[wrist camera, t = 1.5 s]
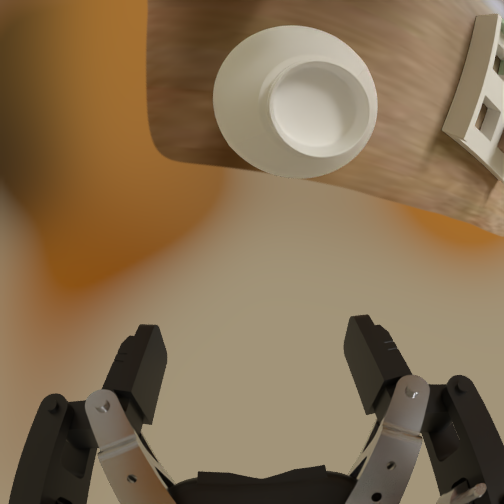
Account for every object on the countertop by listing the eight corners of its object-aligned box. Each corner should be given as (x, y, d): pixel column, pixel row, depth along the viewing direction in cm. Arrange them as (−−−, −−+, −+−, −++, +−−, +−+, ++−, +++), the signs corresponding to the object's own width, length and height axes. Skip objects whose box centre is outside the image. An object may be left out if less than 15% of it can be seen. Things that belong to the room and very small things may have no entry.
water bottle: (311, 118, 27) (443, 226, 6) (253, 127, 28) (210, 260, 7) (297, 45, 22) (397, -73, 1) (236, 55, 23) (129, -48, 2)
